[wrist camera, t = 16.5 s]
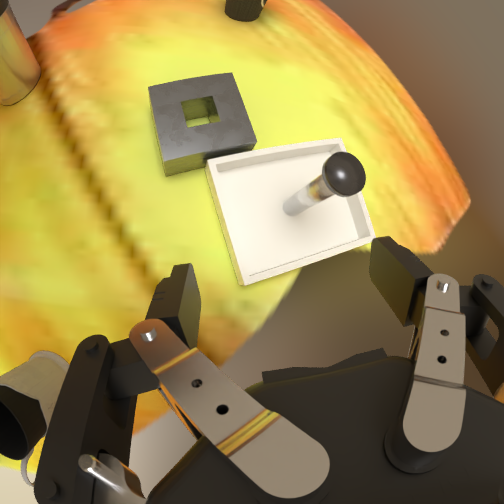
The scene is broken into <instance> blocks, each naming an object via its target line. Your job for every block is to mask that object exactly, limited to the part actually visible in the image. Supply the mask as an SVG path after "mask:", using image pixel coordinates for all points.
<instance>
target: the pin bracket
mask: <svg viewBox="0 0 504 504" xmlns="http://www.w3.org/2000/svg"><path fill="white" fill-rule="evenodd" d="M148 90H149V98H150V106H151V112H152V117H153V122H154V126H155V131H156V136H157V140H158V145H159V149H160V154H161V158H162V163H163V167H164V171H165V175H166V176H170V175H174V174H178V173H182V172H186V171H190V170H194V169H198V168H202V167H206V163H207V160H209V159H214V158H218V157H223V156H228V155H233V154H238V153H243V152H248V151H252V149H253V148H254V146H255V144H256V142H257V140H256V137H255V134H254V131H253V128H252V125H251V123H250V120H249V117H248V114H247V112H246V109H245V106H244V103H243V101H242V98H241V95H240V92H239V90H238V87H237V84H236V82H235V79H234V77H233V74H232V73H223V74H215V75H208V76H201V77H195V78H189V79H184V80H178V81H173V82H168V83H163V84H159V85H154V86H150V87H148ZM204 116H208V117H209V120H210V123H209V124H204V125H199V126H194V127H190V128H187V125H186V121H185V120H189V119H194V118H199V117H204Z"/></svg>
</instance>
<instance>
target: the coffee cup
mask: <svg viewBox="0 0 504 504" xmlns="http://www.w3.org/2000/svg"><path fill="white" fill-rule="evenodd" d="M266 1H267V0H226V6H225V13H226V14H227V15H228V16H229V17H230V18H232V19H235V20H238V21H253V20H256V19H257V18H258V16H259V14H260V13H261V11H262V9H263V7H264V5H265V3H266Z"/></svg>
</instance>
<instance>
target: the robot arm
mask: <svg viewBox="0 0 504 504" xmlns="http://www.w3.org/2000/svg"><path fill="white" fill-rule="evenodd" d="M40 75H41V68H40V66H39V64H38V62H37V60H36V59H35V57H34V55H33V53H32V51H31V49H30V47H29V45H28V43H27V41H26V39H25V37H24V34H23V32H22V30H21V28H20V26H19V24H18V22H17V20H16V17H15V15H14V13H13V11H12V9H11V6H10V4H9V1H8V0H0V103H1V104H2V105H12V104H14V103H16V102H18V101H20V100H21V99H23V98H24V97H25V96H26V95H27V94H28V93H29V92H30V91H31V90H32V89H33V88H34V86H35V85H36V83H37V82H38V80H39V77H40ZM369 273H370V277H371V280H372V282H373V283H374V285H375V286H376V287H377V289H378V290H379V292H380V293H381V295H382V296H383V297H384V299H385V300H386V302H387V303H388V304H389V306H390V307H391V309H392V310H393V312H394V313H395V315H396V316H397V318H398V319H399V321H400V322H401V323H402V325H403V327H405V326H409V325H412V324H414V325H415V329H414V332H413V337H412V342H411V346H410V350H409V354H408V358H404V357H399V356H387V355H386V353H385V351H384V349H383V348H380V349H376V350H372V351H369V352H364V353H360V354H356V355H354V356H352V357H350V358H348V359H346V360H343V361H341V362H339V363H337V364H335V365H332V366H330V367H326V368H308V367H292V368H286V369H279V370H272V371H265V372H262V377H263V381H261V382H259V383H256V384H254V385H252V386H250V387H248V388H247V389H245V390H243V389H241V388H240V387H239V386H238V385H237V384H236V383H235V382H233V381H232V380H231V379H230V378H229V377H228V376H227V375H226V374H224V373H223V372H222V371H221V370H220V369H219V368H218V367H217V366H216V365H215V364H214V363H213V362H211V361H210V360H209V359H208V358H207V357H206V356H205V355H204V354H203V353H202V352H201V351H200V350H199V349H197V338H198V329H199V320H200V311H201V298H200V293H199V289H198V285H197V281H196V277H195V273H194V269H193V266H192V264H191V263H188V264H180V265H174V267H173V270H172V273H171V276H170V277H168V278H163V280H162V281H161V282H160V283H159V284H158V285H157V287H156V289H155V292H154V295H153V298H152V301H151V304H150V306H149V309H148V312H147V315H146V318H145V320H144V321H142V322H140V323H138V324H137V325H135V326H134V327H133V328H132V330H131V331H130V334H129V338H127V339H124V340H121V341H117V342H114V343H111V344H110V343H109V341H108V339H107V338H106V337H105V336H103V335H92V336H90V337H87V338H86V339H84V340H83V341H82V342H81V343H80V344H79V345H78V347H77V349H76V351H75V353H74V356H73V358H72V361H71V363H70V366H69V368H68V371H67V374H66V376H65V379H64V381H63V384H62V387H61V390H60V393H59V395H58V398H57V401H56V404H55V407H54V410H53V413H52V417H51V420H50V423H49V426H48V430H47V433H46V437H45V440H44V444H43V448H42V452H41V456H40V460H39V464H38V469H37V473H36V478H35V483H34V495H35V498H36V500H37V502H38V503H39V504H504V287H503V286H502V285H501V284H500V283H499V282H498V281H497V280H495V279H494V278H492V277H491V276H488V275H484V274H479V275H476V276H475V277H474V279H473V282H472V285H471V286H459V285H458V283H457V281H456V280H455V279H453V278H452V277H450V276H448V275H445V274H434V273H433V272H432V271H431V270H430V269H429V268H428V267H427V266H426V265H425V264H424V263H423V262H422V261H420V259H419V258H418V257H416V256H415V255H414V254H413V253H412V252H411V251H410V250H409V249H407V248H405V247H403V246H401V245H398V244H397V243H396V242H395V241H394V240H393V239H392V238H391V237H389V236H385V237H378V238H374V239H373V240H372V244H371V256H370V266H369ZM489 318H491V319H492V320H493V322H494V323H495V324H496V325H497V327H498V329H499V338H498V340H497V342H496V341H495V339H494V338H493V337H492V336H491V334H490V333H489V331H488V330H487V329H486V324H487V322H488V320H489ZM465 350H466V352H467V353H468V355H469V356H470V358H471V360H472V361H473V363H474V364H475V366H476V368H477V369H478V371H479V373H480V374H481V376H482V378H483V379H484V381H485V383H486V384H487V386H488V388H489V390H490V392H491V393H492V395H493V397H494V398H491V397H489V396H487V395H485V394H483V393H481V392H478V391H476V390H474V389H472V388H470V387H468V386H466V385H464V384H463V378H464V364H465ZM155 389H157V390H158V391H159V392H160V394H161V395H162V396H163V398H164V399H165V400H166V402H167V403H168V404H169V406H170V407H171V408H172V410H173V411H174V412H175V413H176V415H177V416H178V417H179V418H180V420H181V421H182V422H183V424H184V425H185V426H186V428H187V429H188V430H189V432H190V433H191V434H192V435H193V437H194V438H195V439H196V440H197V442H196V443H195V444H194V445H193V446H192V448H191V449H190V450H189V451H188V452H187V453H186V454H185V455H184V457H182V459H181V460H180V461H179V462H178V463H177V464H176V465H175V466H174V467H173V468H172V469H171V470H170V471H169V473H167V474H166V476H165V477H164V478H163V479H162V480H161V481H160V482H159V483H158V484H157V485H156V486H155V487H154V488H153V489H152V491H151V492H150V494H149V496H148V498H147V499H146V498H145V497H144V495H143V493H142V490H141V483H140V480H139V478H138V476H137V475H136V474H135V473H134V472H133V471H132V470H131V469H129V468H128V467H129V457H130V447H131V439H132V431H133V423H134V416H135V409H136V402H137V396H138V394H141V393H144V392H148V391H151V390H155Z"/></svg>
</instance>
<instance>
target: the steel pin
mask: <svg viewBox="0 0 504 504" xmlns="http://www.w3.org/2000/svg"><path fill="white" fill-rule="evenodd" d="M365 181H366V175H365V171H364V168H363V166H362V164H361V163H360V161H359V160H358V159H357V158H356V157H355V156H353V155H352V154H350V153H347V152H336V153H334V154H333V155H331V156H330V157H329V158H328V159H327V160H326V161H325V162H324V164H323V167H322V174H321V175H319V176H318V177H317V178H315V179H314V180H312V181H311V182H310V183H308V184H307V185H305V186H304V187H303V188H301V189H300V190H299V191H297V192H296V193H294V194H293V195H292V196H290V197H289V198H288V199H286V200H285V201H284V203H283V210H284V212H285V213H286V214H287V215H289V216H295V215H297V214H299V213H301V212H303V211H305V210H307V209H309V208H311V207H312V206H314V205H316V204H318V203H320V202H322V201H324V200H326V199H327V198H329V197H331V196H333V195H335V194H336V195H338V196H340V197H350V196H352V195H355V194H357V193H359V192H360V191H361V190H362V189H363V187H364V185H365Z"/></svg>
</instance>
